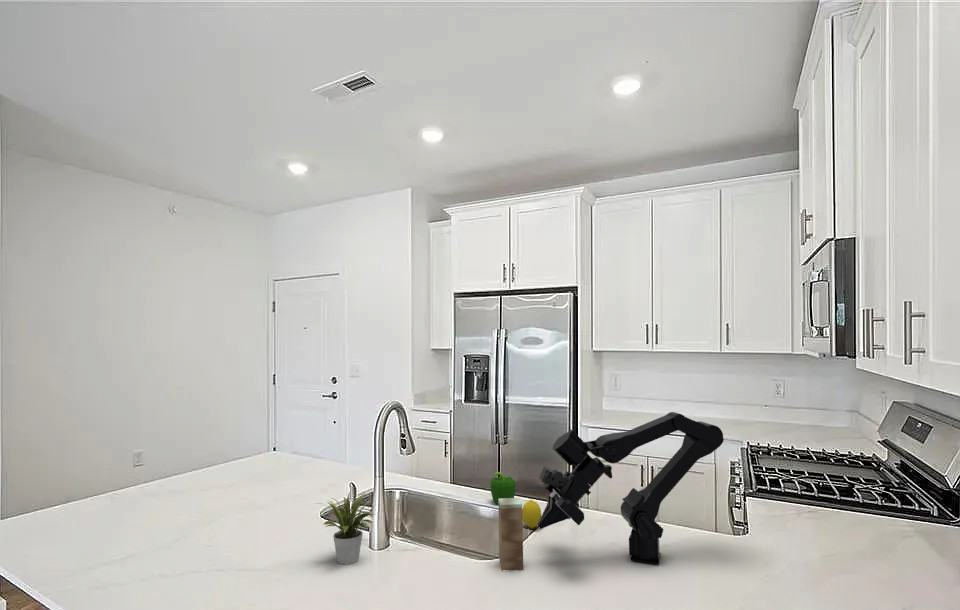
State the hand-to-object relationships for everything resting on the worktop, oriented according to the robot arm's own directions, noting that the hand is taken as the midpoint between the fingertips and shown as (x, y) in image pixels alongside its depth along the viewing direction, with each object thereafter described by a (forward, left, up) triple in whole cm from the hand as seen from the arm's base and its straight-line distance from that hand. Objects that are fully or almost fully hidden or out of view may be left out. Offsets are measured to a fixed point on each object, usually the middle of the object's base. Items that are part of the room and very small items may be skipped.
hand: (538, 527), depth 124 cm
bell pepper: (+25, -41, -9) cm, 49 cm away
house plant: (+45, +16, -9) cm, 49 cm away
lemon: (+9, -22, -9) cm, 25 cm away
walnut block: (+6, +3, -9) cm, 11 cm away
